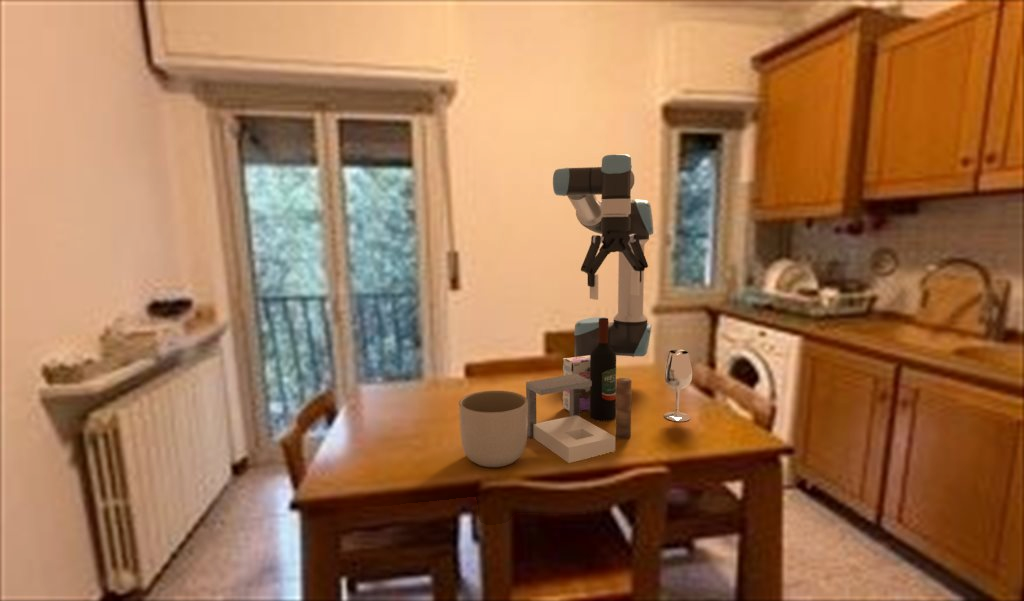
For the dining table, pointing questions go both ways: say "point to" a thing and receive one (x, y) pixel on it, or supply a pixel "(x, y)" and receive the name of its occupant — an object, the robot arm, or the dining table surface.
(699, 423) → the dining table surface
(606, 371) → the wine bottle
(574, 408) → the gray arch stand
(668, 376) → the wineglass
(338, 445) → the dining table surface
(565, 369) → the candy box
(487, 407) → the planter
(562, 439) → the socket deck
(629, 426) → the peg
